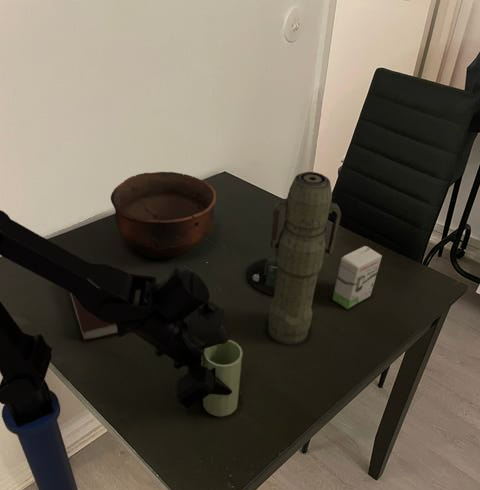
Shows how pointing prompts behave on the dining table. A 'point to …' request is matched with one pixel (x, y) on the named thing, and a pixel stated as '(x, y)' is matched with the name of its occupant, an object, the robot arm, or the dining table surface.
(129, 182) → the bowl
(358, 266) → the ink box
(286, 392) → the dining table surface
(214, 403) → the pencil cup
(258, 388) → the dining table surface
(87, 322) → the book
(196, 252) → the dining table surface
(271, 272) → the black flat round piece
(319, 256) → the thermos
